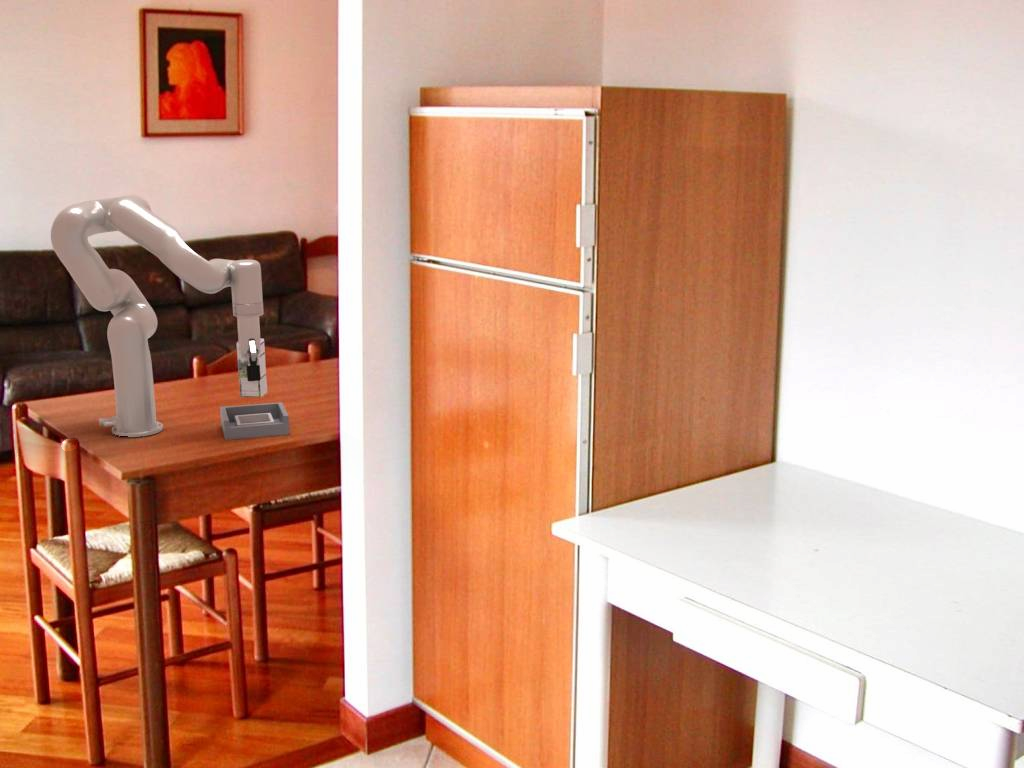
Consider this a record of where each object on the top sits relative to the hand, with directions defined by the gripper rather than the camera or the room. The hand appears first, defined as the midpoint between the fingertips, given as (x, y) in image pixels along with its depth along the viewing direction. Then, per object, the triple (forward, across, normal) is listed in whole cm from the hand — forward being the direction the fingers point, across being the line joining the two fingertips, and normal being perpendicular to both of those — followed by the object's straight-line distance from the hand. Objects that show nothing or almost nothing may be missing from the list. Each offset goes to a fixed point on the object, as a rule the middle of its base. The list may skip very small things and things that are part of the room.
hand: (252, 376), depth 302 cm
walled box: (+14, 0, 0) cm, 14 cm away
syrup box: (+5, 0, 0) cm, 5 cm away
